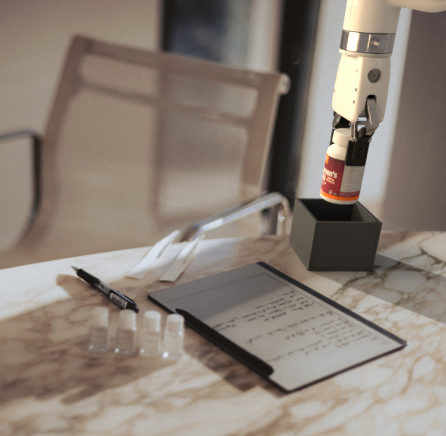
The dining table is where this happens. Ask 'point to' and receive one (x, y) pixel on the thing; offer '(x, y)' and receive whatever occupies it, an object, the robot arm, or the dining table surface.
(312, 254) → the waste bin
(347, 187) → the pill bottle
